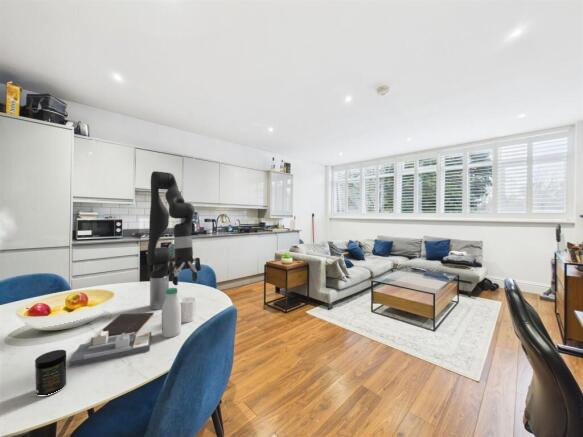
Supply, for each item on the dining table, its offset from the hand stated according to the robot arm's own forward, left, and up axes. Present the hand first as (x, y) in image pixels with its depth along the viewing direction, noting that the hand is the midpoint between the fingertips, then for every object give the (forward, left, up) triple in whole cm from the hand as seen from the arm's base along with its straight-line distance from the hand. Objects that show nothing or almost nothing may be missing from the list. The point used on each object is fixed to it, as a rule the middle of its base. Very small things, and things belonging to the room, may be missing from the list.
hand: (185, 282), depth 110 cm
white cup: (-13, +2, -23) cm, 26 cm away
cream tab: (+1, -30, -20) cm, 36 cm away
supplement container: (+21, -38, -23) cm, 49 cm away
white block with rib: (+7, -22, -20) cm, 31 cm away
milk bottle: (-1, -5, -22) cm, 23 cm away
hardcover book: (-16, -24, -23) cm, 37 cm away
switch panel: (+4, -25, -22) cm, 34 cm away
